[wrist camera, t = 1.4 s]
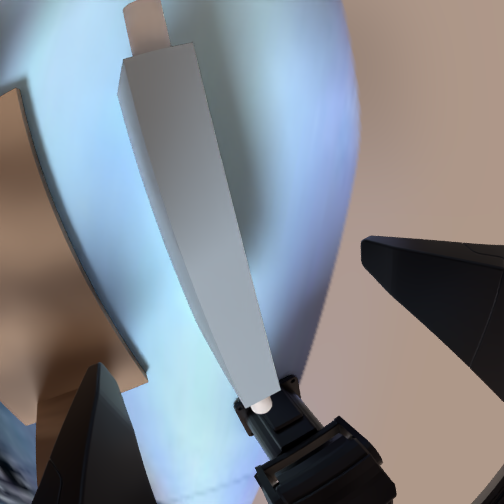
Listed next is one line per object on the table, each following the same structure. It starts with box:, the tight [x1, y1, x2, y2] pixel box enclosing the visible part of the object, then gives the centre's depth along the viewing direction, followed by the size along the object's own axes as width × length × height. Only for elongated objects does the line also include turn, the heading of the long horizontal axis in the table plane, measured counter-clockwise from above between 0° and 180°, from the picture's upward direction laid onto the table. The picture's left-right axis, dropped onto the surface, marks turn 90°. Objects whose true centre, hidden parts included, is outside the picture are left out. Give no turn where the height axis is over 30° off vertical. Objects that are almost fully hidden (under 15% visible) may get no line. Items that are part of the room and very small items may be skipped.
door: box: [117, 0, 281, 414], centre depth 14 cm, size 19×2×8 cm, turn 13°
